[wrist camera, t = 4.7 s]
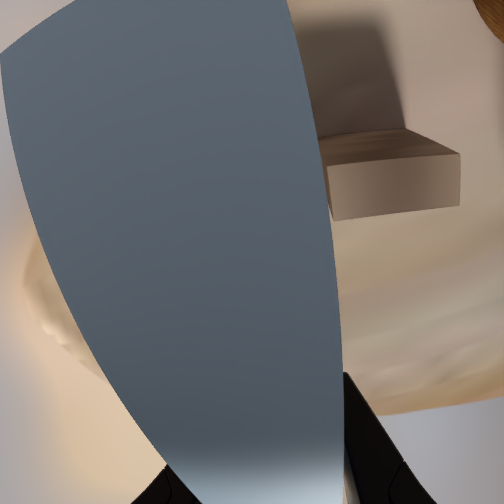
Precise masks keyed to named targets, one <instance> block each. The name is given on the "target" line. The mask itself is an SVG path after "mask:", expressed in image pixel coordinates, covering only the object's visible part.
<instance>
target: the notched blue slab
mask: <svg viewBox="0 0 504 504" xmlns="http://www.w3.org/2000/svg"><path fill="white" fill-rule="evenodd" d="M0 64H1V76H2V85H3V92H4V100H5V106H6V113H7V119H8V125H9V130H10V135H11V140H12V145H13V149H14V153H15V158H16V162H17V166H18V170H19V174H20V177H21V181H22V185H23V188H24V192H25V195H26V199H27V202H28V205H29V208H30V211H31V215H32V218H33V221H34V224H35V227H36V230H37V232H38V235H39V238H40V241H41V243H42V246H43V249H44V251H45V254H46V256H47V259H48V262H49V264H50V266H51V269H52V271H53V274H54V276H55V278H56V281H57V283H58V285H59V288H60V290H61V292H62V294H63V296H64V299H65V301H66V303H67V305H68V307H69V309H70V311H71V313H72V315H73V317H74V319H75V321H76V323H77V325H78V327H79V329H80V331H81V333H82V335H83V337H84V339H85V341H86V343H87V344H88V346H89V348H90V350H91V352H92V353H93V355H94V357H95V359H96V361H97V362H98V364H99V366H100V367H101V369H102V371H103V372H104V374H105V376H106V377H107V379H108V381H109V382H110V384H111V386H112V387H113V389H114V390H115V392H116V393H117V395H118V397H119V398H120V400H121V401H122V403H123V404H124V406H125V407H126V409H127V410H128V412H129V413H130V415H131V416H132V417H133V419H134V420H135V422H136V423H137V425H138V426H139V427H140V429H141V430H142V431H143V433H144V434H145V436H146V437H147V438H148V439H149V441H150V442H151V444H152V445H153V446H154V448H155V449H156V450H157V451H158V452H159V454H160V455H161V457H162V458H163V459H164V460H165V462H166V463H167V464H168V465H169V466H170V468H171V469H172V470H173V471H174V472H175V474H176V475H177V476H178V477H179V478H180V479H181V481H182V482H183V483H184V484H185V485H186V486H187V487H188V489H189V490H190V491H191V492H192V493H193V494H194V495H195V496H196V497H197V498H198V500H199V501H200V502H201V503H202V504H342V496H343V472H344V391H343V363H342V344H341V327H340V313H339V301H338V289H337V278H336V268H335V258H334V249H333V240H332V232H331V224H330V216H329V209H328V202H327V195H326V188H325V181H324V175H323V168H322V162H321V156H320V150H319V144H318V139H317V133H316V128H315V122H314V117H313V112H312V107H311V102H310V97H309V92H308V87H307V83H306V78H305V74H304V69H303V65H302V60H301V56H300V52H299V48H298V44H297V39H296V35H295V32H294V28H293V24H292V20H291V16H290V12H289V9H288V5H287V2H286V0H75V1H73V2H72V3H70V4H69V5H67V6H65V7H64V8H62V9H61V10H59V11H57V12H56V13H54V14H53V15H51V16H50V17H48V18H47V19H45V20H44V21H42V22H41V23H40V24H38V25H37V26H35V27H34V28H33V29H31V30H30V31H29V32H27V33H26V34H24V35H23V36H22V37H21V38H19V39H18V40H17V41H16V42H14V43H13V44H12V45H10V46H9V47H8V48H7V49H6V50H4V51H3V52H2V53H1V54H0Z"/></svg>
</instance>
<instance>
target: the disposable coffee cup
mask: <svg viewBox="0 0 504 504" xmlns="http://www.w3.org/2000/svg"><path fill="white" fill-rule="evenodd" d="M474 2H475V4H476V6H477V9H478V11H479V13H480V15H481V17H482V18H483V20H484V21H485V23H486V24H487V26H488V27H489V28H490V30H491V31H492V32H493V33H494V34H495V35H496V36H497V37H498V38H499V39H500V40H501V41H502V42H503V43H504V0H474Z"/></svg>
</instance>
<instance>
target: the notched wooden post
mask: <svg viewBox="0 0 504 504" xmlns="http://www.w3.org/2000/svg"><path fill="white" fill-rule="evenodd" d="M317 139H318V144H319V150H320V156H321V162H322V168H323V175H324V181H325V188H326V195H327V201H328V205H329V208H330V211H331V214H332V217H333V221H339V220H346V219H354V218H362V217H369V216H377V215H385V214H393V213H401V212H409V211H418V210H426V209H434V208H443V207H452V206H459V205H460V154H459V153H457V152H455V151H453V150H451V149H449V148H447V147H445V146H443V145H441V144H439V143H437V142H435V141H433V140H431V139H429V138H426V137H424V136H422V135H420V134H418V133H415V132H413V131H411V130H408V129H392V130H380V131H369V132H359V133H349V134H340V135H332V136H324V137H317Z"/></svg>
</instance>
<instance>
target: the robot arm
mask: <svg viewBox="0 0 504 504" xmlns="http://www.w3.org/2000/svg"><path fill="white" fill-rule="evenodd" d="M343 391H344V472H343V479H344V484H345V490H346V496H347V502H348V504H437V503H436V502H435V501H434V500H433V499H432V498H431V496H430V495H429V494H428V493H427V491H426V490H425V489H424V488H423V487H422V485H421V484H420V483H419V481H418V480H417V479H416V477H415V476H414V474H413V473H412V471H411V469H410V468H409V466H408V465H407V463H406V462H405V461H403V460H404V459H403V458H402V456H401V454H400V453H399V451H398V449H397V448H396V447H395V445H394V443H393V442H392V440H391V439H390V437H389V436H388V434H387V433H386V431H385V429H384V428H383V426H382V425H381V423H380V422H379V420H378V419H377V417H376V415H375V414H374V412H373V411H372V409H371V408H370V406H369V405H368V403H367V402H366V400H365V399H364V397H363V396H362V394H361V392H360V391H359V389H358V388H357V386H356V385H355V383H354V382H353V380H352V379H351V377H350V376H349V374H348V373H347V372H343ZM164 468H165V469H162V471H161V472H160V473H159V475H158V476H157V477H156V478H155V479H154V480H153V481H152V483H151V484H150V485H149V486H148V487H147V488H146V489H145V490H144V491H143V492H142V493H141V494H140V495H139V496H138V497H137V498H136V499H135V500H134V501H133V502H132V503H131V504H202V503H201V502H200V501H199V500H198V498H197V497H196V496H195V495H194V494H193V493H192V492H191V491H190V490H189V489H188V487H187V486H186V485H185V484H184V483H183V482H182V481H181V479H180V478H179V477H178V476H177V475H176V474H175V472H174V471H173V470H172V469H171V468H170V466H169V465H168V464H167V465H166V466H165V467H164Z"/></svg>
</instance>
